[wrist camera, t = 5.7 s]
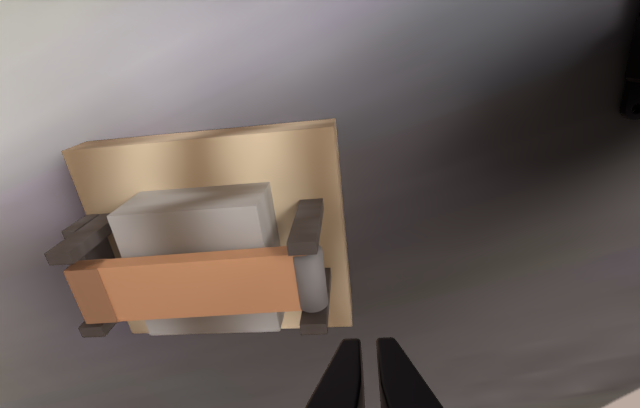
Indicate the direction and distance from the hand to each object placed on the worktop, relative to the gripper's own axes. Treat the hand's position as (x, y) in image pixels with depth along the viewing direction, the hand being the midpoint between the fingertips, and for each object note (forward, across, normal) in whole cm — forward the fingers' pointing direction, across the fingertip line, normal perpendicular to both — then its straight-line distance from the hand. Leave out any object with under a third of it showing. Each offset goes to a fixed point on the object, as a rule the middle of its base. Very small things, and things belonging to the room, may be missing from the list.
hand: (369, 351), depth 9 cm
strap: (+8, +8, +3) cm, 11 cm away
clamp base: (+13, +8, +3) cm, 16 cm away
